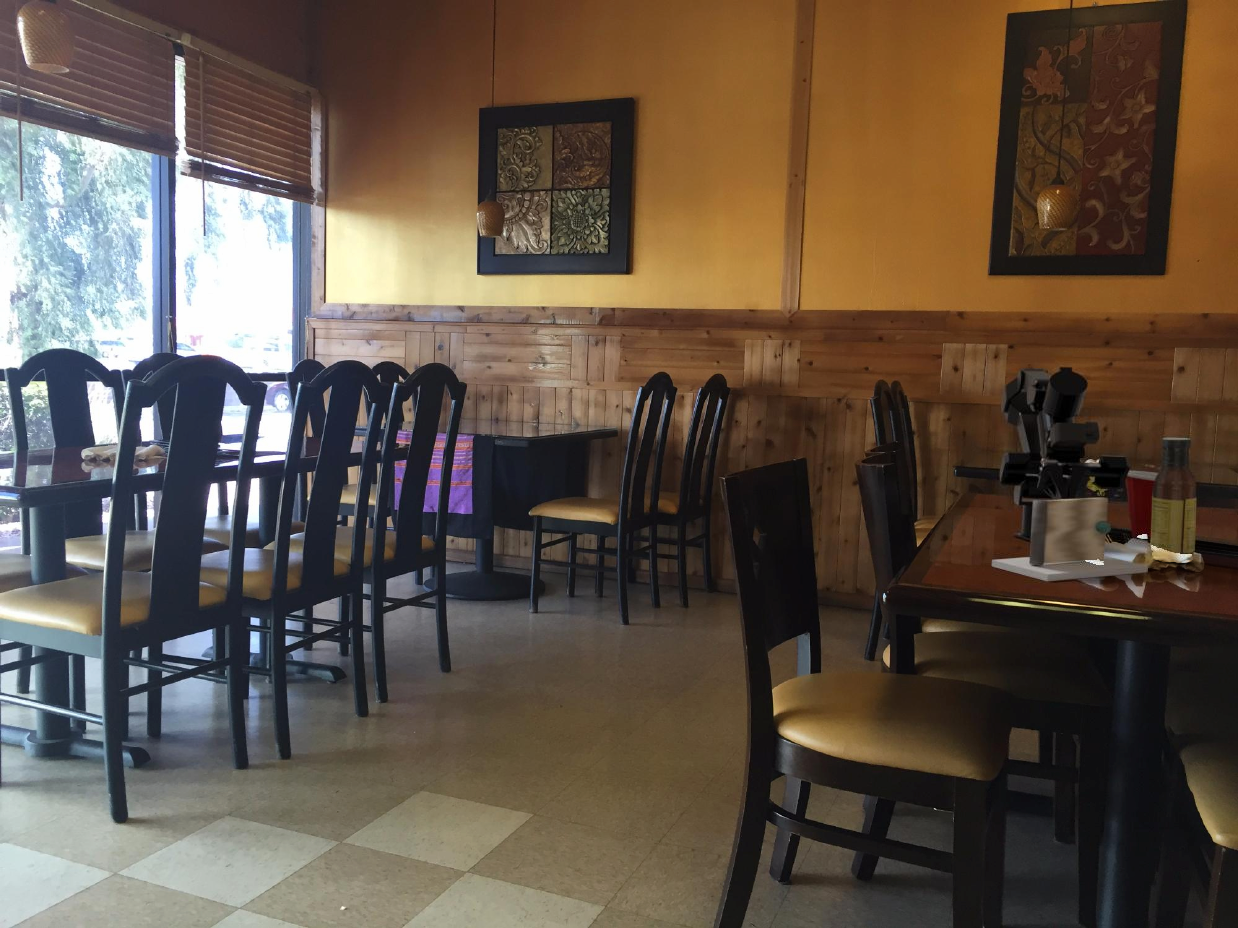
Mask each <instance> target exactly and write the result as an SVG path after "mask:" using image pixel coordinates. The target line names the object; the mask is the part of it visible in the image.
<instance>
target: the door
mask: <svg viewBox="0 0 1238 928" xmlns="http://www.w3.org/2000/svg"><path fill="white" fill-rule="evenodd" d="M1043 500H1044V501H1043ZM1108 504H1109V498H1108V497H1085V498H1075V499H1060V500H1054V499H1039V500H1033V509H1032V526H1031V541H1030V542H1029V543H1030V548H1029V557H1030V559H1029V563H1030V564H1034V565H1043V564H1048V563H1060V562H1072V561H1085V560H1097V559H1104V556H1105V551H1106V550H1105V549H1106V547H1105V546H1106V536H1107V534H1108V533H1109V532H1110V531H1111V529H1112V527H1111V524H1110V522H1108V521H1107V519H1108V518H1107V517H1108Z"/></svg>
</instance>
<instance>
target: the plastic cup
mask: <svg viewBox="0 0 1238 928" xmlns="http://www.w3.org/2000/svg"><path fill="white" fill-rule="evenodd" d="M1157 474H1158V472H1152V471H1141V470H1129V472H1128V475H1127V477H1126V480H1125V488H1126V494H1127V495H1126V496H1127V504H1128V505H1127V506H1128V514H1129V515H1128V516H1129V519H1130V521H1129V523H1130V529H1131V534H1132V537H1133V538H1134V537H1137V536H1138V535H1142V534H1147V535H1148V538H1149V540H1148V541H1151V521H1152V492H1153V487H1154V482H1155V478H1156V476H1157Z"/></svg>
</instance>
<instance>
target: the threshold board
mask: <svg viewBox="0 0 1238 928" xmlns="http://www.w3.org/2000/svg"><path fill="white" fill-rule="evenodd" d="M1029 559H1030V556H1028V557H1027V556H1026V557H1024V556H1023V557H1014V558H1002V559H992V560H991V567H993V568H997V569H1001V570H1005V571H1007V572H1012V573H1016V574H1019V575H1023V576H1026V577H1030V578H1034V579H1037V580H1041V581H1045V582H1053V581H1054V582H1055V581H1056V582H1057V581H1065V580H1077V579H1078V580H1079V579H1086V578H1089V579H1090V578H1097V577H1099V578H1100V577H1110V576H1119V575H1122V576H1123V575H1131V574H1142V573H1148V570H1149V569H1148V567H1149V566H1148V565H1147V564H1142V563H1137V562H1133V561H1130V560H1126V559H1125V560H1124V559H1119V558H1116V557H1115V558H1114V557H1111V556H1106V555H1104V559H1099V560H1100V561H1104V562H1103V563H1104V565H1096V564H1093V563H1090V562H1086V561H1072V562H1060V563H1048V564H1043V565H1034V564H1030V563H1029Z"/></svg>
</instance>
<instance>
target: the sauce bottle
mask: <svg viewBox="0 0 1238 928" xmlns="http://www.w3.org/2000/svg"><path fill="white" fill-rule="evenodd" d="M1191 447H1192V440H1191V438H1187V437H1163V438H1162V440H1161V448H1162V458H1161V466H1160V468H1159V471H1158V472H1157V473H1158V474H1157V476H1156V478H1155V482H1154V487H1153V492H1152V521H1151V540H1150V546H1151V545H1153V546H1156V547H1157V548H1162V549H1164V550H1167V551H1170V552H1174V553H1180V554H1193V555H1194V552H1195V548H1196V523H1197V521H1196V519H1197V494H1196V493H1197V492H1196V491H1197V483H1196V477H1195V476H1194V474H1193V473H1192V471H1191V469H1190V459H1189V458H1190V449H1191Z"/></svg>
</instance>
